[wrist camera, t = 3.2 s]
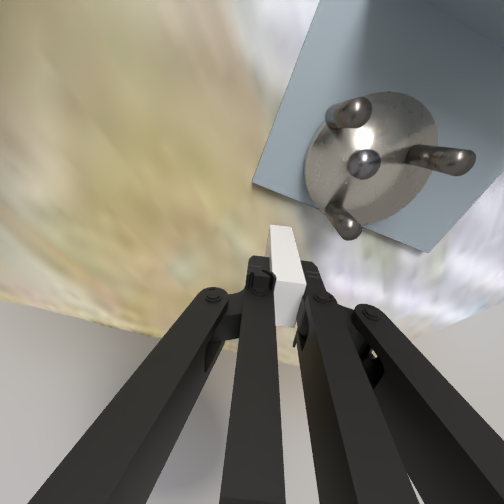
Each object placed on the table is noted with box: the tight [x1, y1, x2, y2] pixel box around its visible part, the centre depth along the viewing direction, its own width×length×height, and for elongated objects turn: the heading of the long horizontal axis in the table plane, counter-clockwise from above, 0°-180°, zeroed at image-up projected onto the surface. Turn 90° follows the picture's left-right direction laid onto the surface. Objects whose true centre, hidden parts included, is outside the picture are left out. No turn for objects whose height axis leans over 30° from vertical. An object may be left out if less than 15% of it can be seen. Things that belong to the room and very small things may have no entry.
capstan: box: [304, 91, 476, 240], centre depth 20 cm, size 12×12×8 cm
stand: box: [252, 0, 504, 253], centre depth 18 cm, size 24×20×11 cm
